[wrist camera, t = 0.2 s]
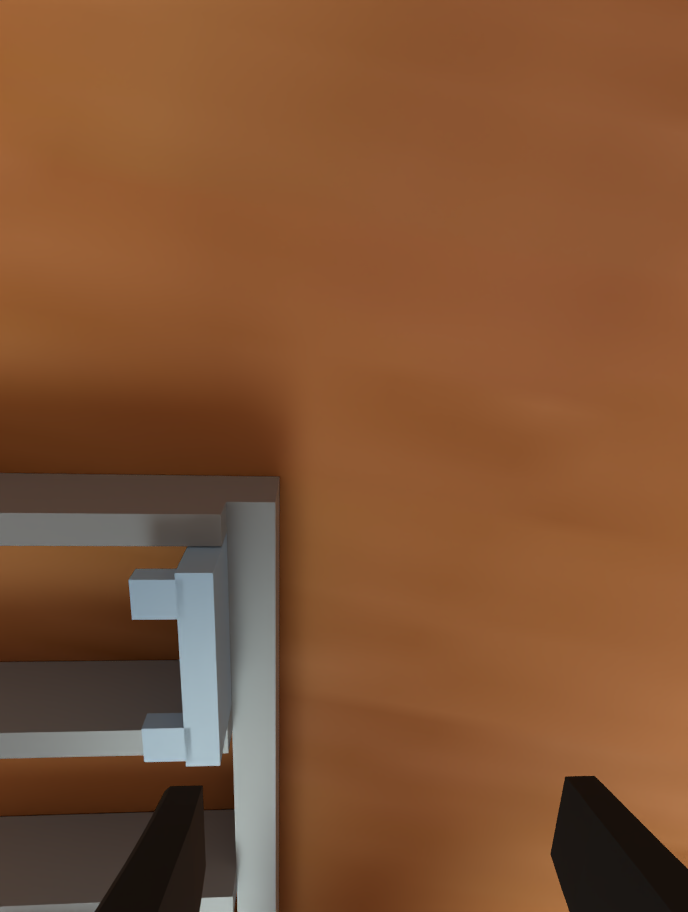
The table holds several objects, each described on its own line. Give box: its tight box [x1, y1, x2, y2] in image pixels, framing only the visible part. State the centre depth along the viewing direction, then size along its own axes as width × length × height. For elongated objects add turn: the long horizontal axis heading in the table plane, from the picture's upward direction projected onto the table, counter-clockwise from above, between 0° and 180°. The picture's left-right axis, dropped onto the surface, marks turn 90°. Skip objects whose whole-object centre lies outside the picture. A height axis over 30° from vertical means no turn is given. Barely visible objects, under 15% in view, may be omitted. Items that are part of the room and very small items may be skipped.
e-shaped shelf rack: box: [0, 473, 280, 912], centre depth 19 cm, size 24×12×5 cm, turn 178°
